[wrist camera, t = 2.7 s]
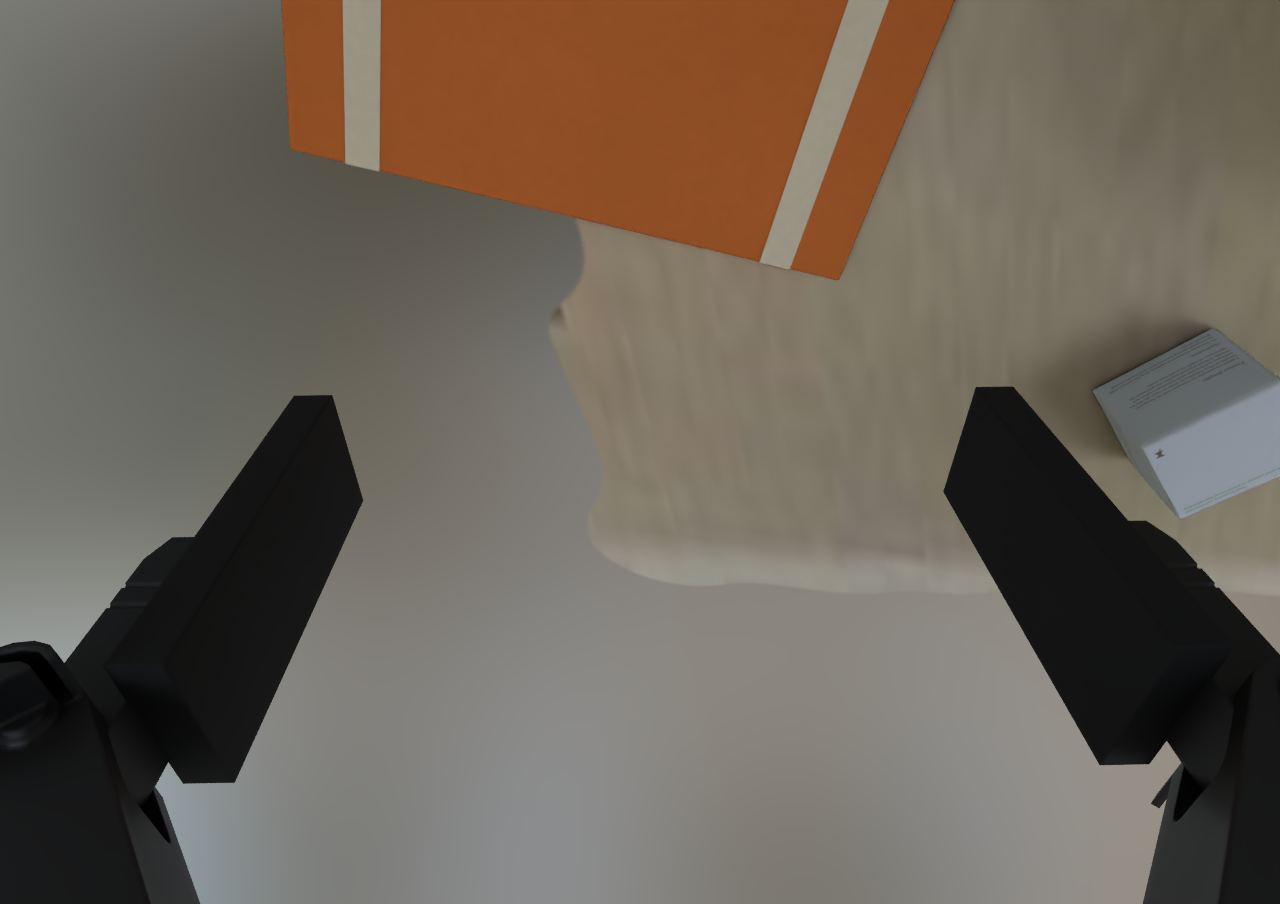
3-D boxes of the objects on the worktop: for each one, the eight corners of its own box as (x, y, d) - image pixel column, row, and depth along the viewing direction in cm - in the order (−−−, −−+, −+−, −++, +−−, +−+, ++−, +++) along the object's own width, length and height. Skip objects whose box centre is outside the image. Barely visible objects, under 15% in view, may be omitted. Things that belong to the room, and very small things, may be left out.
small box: (1127, 461, 38) (1179, 524, 34) (1087, 388, 35) (1138, 446, 32) (1248, 405, 36) (1318, 465, 32) (1213, 322, 33) (1286, 376, 29)
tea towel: (273, -236, 23) (264, -238, 23) (965, -36, 26) (970, -35, 25) (295, 146, 30) (288, 150, 30) (836, 276, 33) (839, 281, 32)
